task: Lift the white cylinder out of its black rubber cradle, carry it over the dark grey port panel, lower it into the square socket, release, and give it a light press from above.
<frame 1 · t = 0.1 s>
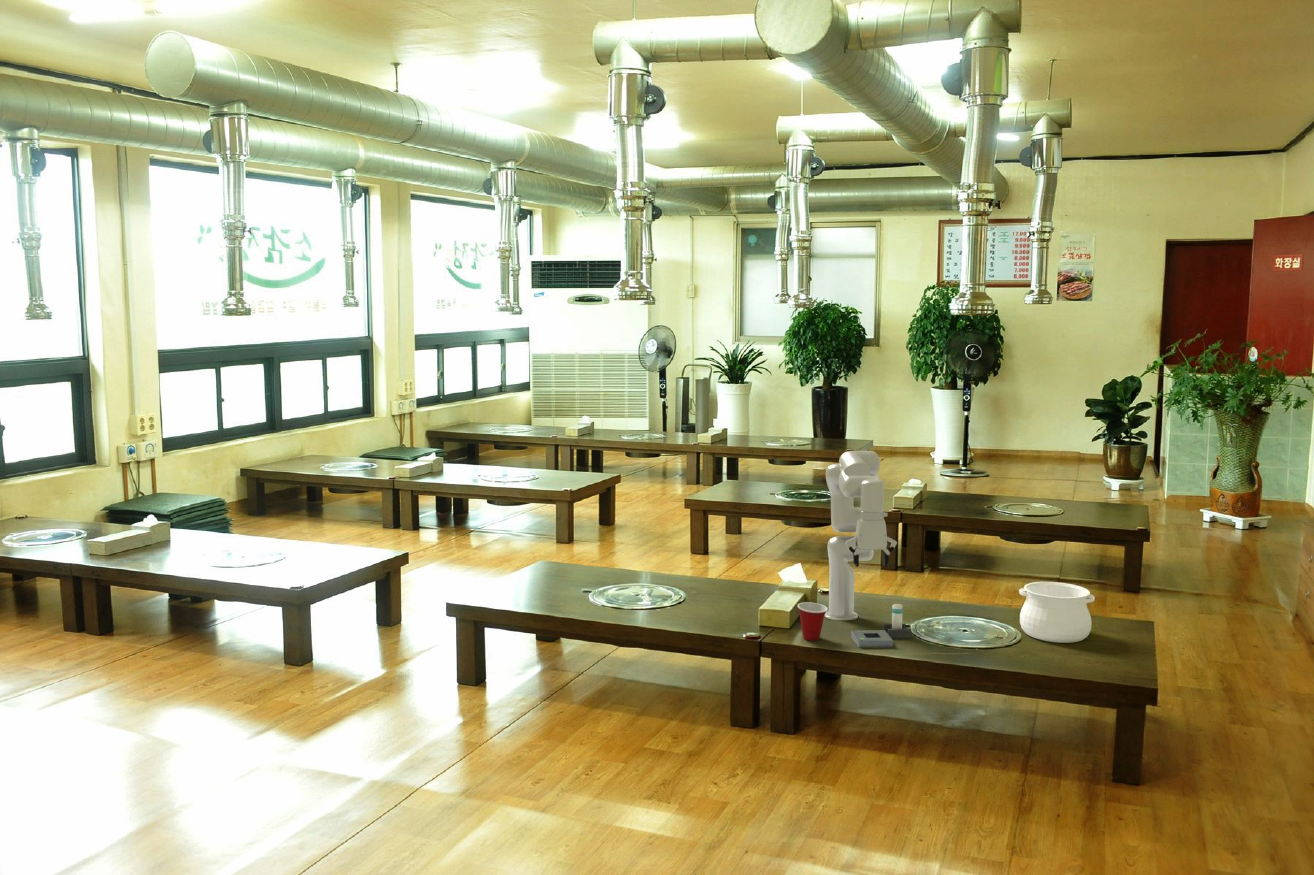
hand: (870, 565, 355), 31 cm above the table, fingers open, 9 cm apart
white cylinder: (896, 634, 379), point 1 cm above the table, touching holster
pot: (1054, 635, 381), on the table
plastic cup: (812, 638, 377), on the table
holster: (896, 636, 379), on the table
port: (871, 643, 370), on the table
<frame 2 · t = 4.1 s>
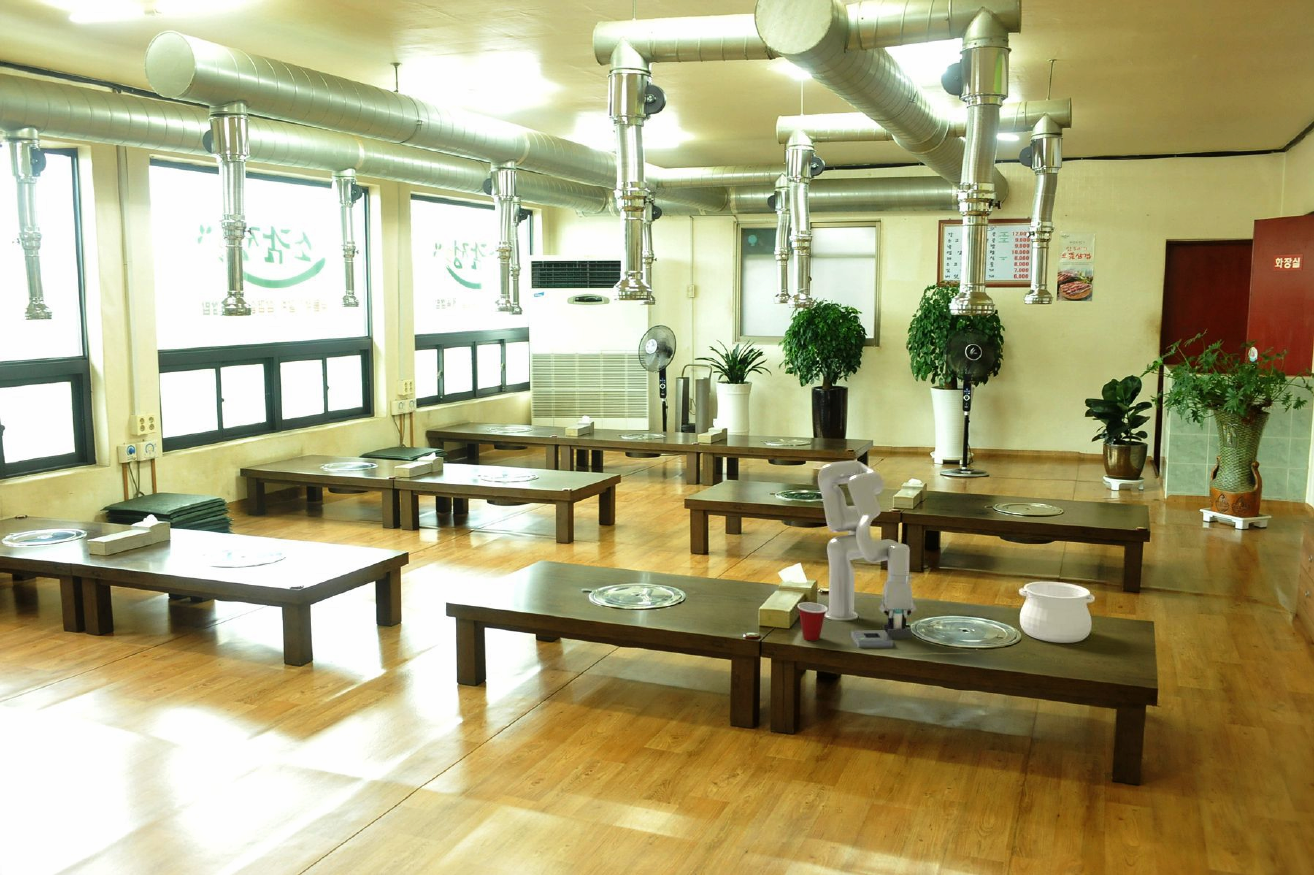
hand: (896, 627, 378), 3 cm above the table, fingers closed on white cylinder, 3 cm apart
white cylinder: (896, 634, 379), point 1 cm above the table, touching gripper, holster
everything else where it was.
when the fingers open (5 cm above the table, at t = 9.5 s): white cylinder drops 1 cm, resting on port.
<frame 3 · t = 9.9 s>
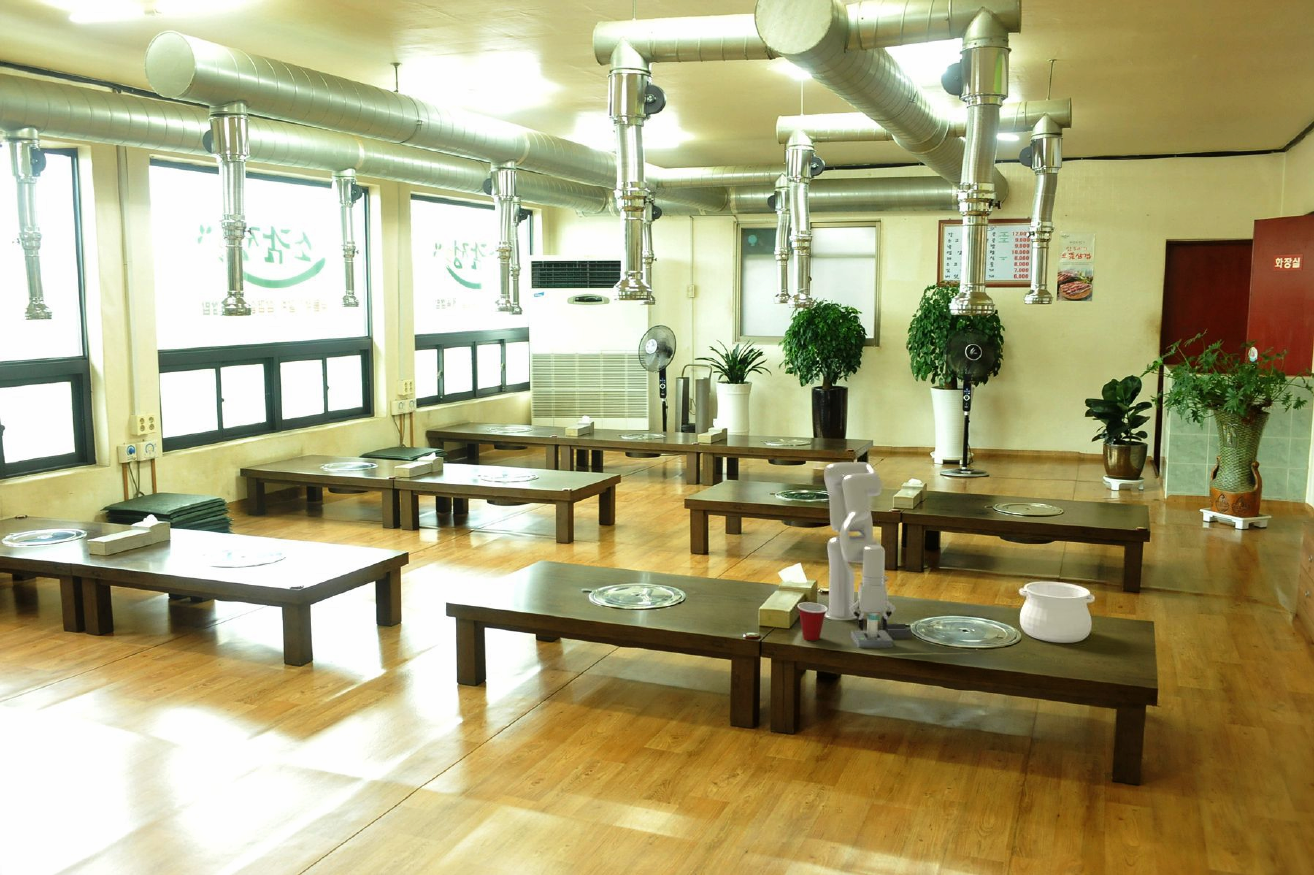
hand: (872, 629, 370), 5 cm above the table, fingers open, 7 cm apart
white cylinder: (871, 641, 370), point 1 cm above the table, touching port
everything else where it was.
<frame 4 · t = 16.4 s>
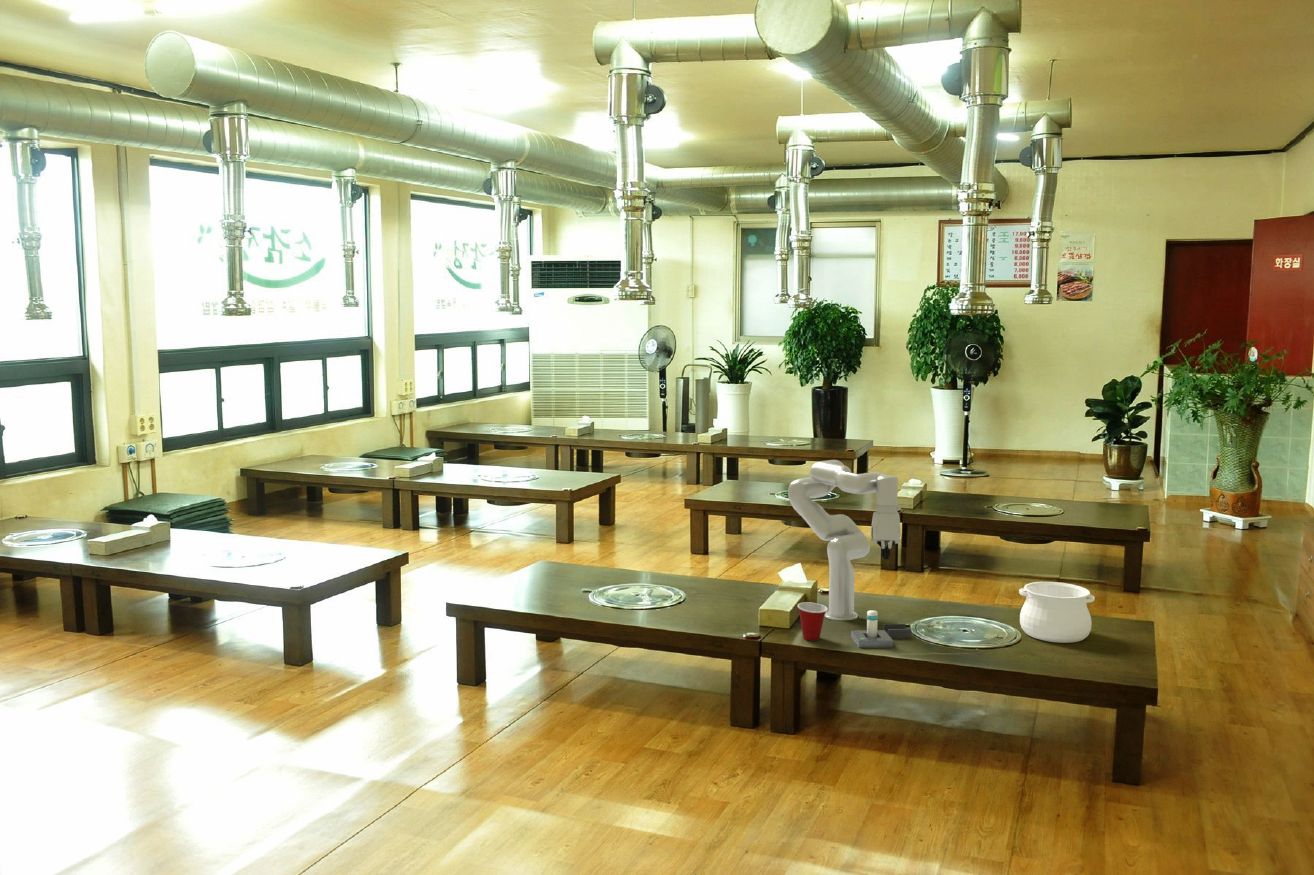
hand: (885, 558, 382), 27 cm above the table, fingers closed
nothing on the table moved.
at the end: white cylinder 0.0 cm off-centre on the port, point 0.6 cm above the port's base; white cylinder tilted 0°; the gripper is holding nothing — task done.
